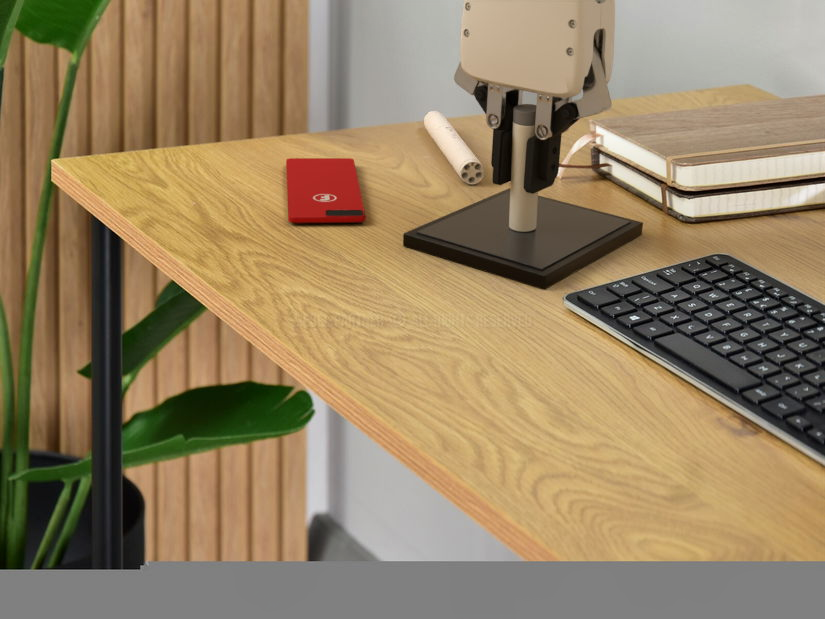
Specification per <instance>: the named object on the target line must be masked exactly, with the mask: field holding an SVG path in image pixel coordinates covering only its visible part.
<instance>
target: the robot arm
mask: <svg viewBox="0 0 825 619" xmlns="http://www.w3.org/2000/svg"><path fill="white" fill-rule="evenodd" d="M615 20H616V0H463V6H462V15H461V25H460V28H461V29H460V40H459V59H460V60H459V63H458V66H457V68H456V70H455V73H454V76H453V80H454V82H455V84H456V85H457V86H459V87H460V88H461V89H463V90H464V91H466V92H467V93H468V94H469V95H471V96H473V97H474V98H475V100H476V101H477V103H478V105H479V106H480V108H481V109H482V111H483V112H484V114H485V121H486V125H487V126H488V127H489V128H490V129H492V143H491V144H492V145H491V160H490V162H491V164H490V165H491V167H492V178H491V179H492V181H491V182H492V184H493V185H496V186H497V185H498V186H502V185H505V184H507V183H509V182H510V183H511V160H512V134H513V109H514V107H515V106H517V105H521V104H523V96H524V95H523V93H524V92H529V93H534V94H536V104H535V105H536V119H535V136H533V137H531V138H529V139H528V140H527V146H526V159H525V173H524V190H525V191H526V192H528V193H532V194H534V193H536V192H538V193H539V192H541V191H543V190H545V189H548V188H550V187H552V186H553V185H554V183H555V182H556V181H555V180H556V179H557V177H558V174H559V169H560V160H561V159H560V158H561V147H562V146H561V144H562V135H563V134H564V133H566V132H568V131H569V130H570V128H571V127H572V126H573V125H574V124H576V122H578V121H579V120H580V119H583V118H587V117H592V116H596V115H600V114H602V113H605V112H607V111H609V110H611V108H612V105H613V104H612V98H611V95H610V91H609V90H610V89H609V86H608V84H609V83H610V80H611V77H612V72H613V66H614V51H615V50H614V49H615V30H616V28H615V27H616V24H615V23H616V21H615ZM581 93H582V97H581V98H579V99H574V100H573V98H574V97H576V96H578V95H579V94H581Z"/></svg>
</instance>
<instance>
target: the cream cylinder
mask: <svg viewBox="0 0 825 619" xmlns="http://www.w3.org/2000/svg"><path fill="white" fill-rule="evenodd" d="M423 125H424V128H425V130H426V132H427V133H428V134H429V135H430V137H431V138H432V140H433V141H434V143H435V144H436V145H437V147H438V148H439V149H440V151H441V152H442V154H443V155H444V157H445V159H447V161H448V162H449V163H450V166H452V168H453V169H454V171H455V173H456V174H457V175H458V176H459V178H460V179H461V181H463V182H464V183H465V184H467V185H476V184H478V183H480V182H481V181H482V180H483V178H484V175H485V169H484V166H483V164H482V162H481V161H480V160H479V159H478V158H477V156H476V155H475V154H474V152H473V150H471V148H469V146H468V145H467V143H466V142H465V140H463V138H462V136H460V134H458V132H457V131H456V129H455V128H454V127H453V126H452V124H451V123H450V121H448V120H447V118H446V117H445V116H444V114H443V113H442V112H440V111H437V110H432V111H428V113H427V114H426V115H424V118H423Z"/></svg>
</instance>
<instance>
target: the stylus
mask: <svg viewBox="0 0 825 619" xmlns="http://www.w3.org/2000/svg"><path fill="white" fill-rule="evenodd" d="M536 105H537V104H532V103H522V104H521V105H517V106H515V107H514V109H513V134H512V160H511V181H510V187H509V188H510V211H509V227H510V229H512V230H514V231H519V232H529V231H532V230H534V229H535V228H536V223H537V203H538V195H539V191H538V192H536V193H534V194H532V193H528V192H526V191H525V190H524V173H525V159H526V146H527V140H528V139H529V138H531V137H533V136H535V119H536Z"/></svg>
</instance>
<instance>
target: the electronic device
mask: <svg viewBox="0 0 825 619" xmlns="http://www.w3.org/2000/svg"><path fill="white" fill-rule="evenodd" d="M285 164H286V165H285V166H286V168H285V169H286V170H285V171H286V195H287V196H286V197H287V220H288V222H289V223H290V224H363V223H364V222H366V211H365V207H364V203H363V197H362V193H361V189H360V188H361V187H360V183H359V179H358V173H357V168H356V164H355V160H354V158H350V157H348V158H347V157H346V158H345V157H344V158H343V157H340V158H339V157H338V158H337V157H333V158H332V157H330V158H329V157H327V158H326V157H324V158H323V157H321V158H320V157H319V158H318V157H309V158H307V157H306V158H305V157H301V158H300V157H299V158H298V157H295V158H294V157H291V158H287V159H286V161H285Z"/></svg>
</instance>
